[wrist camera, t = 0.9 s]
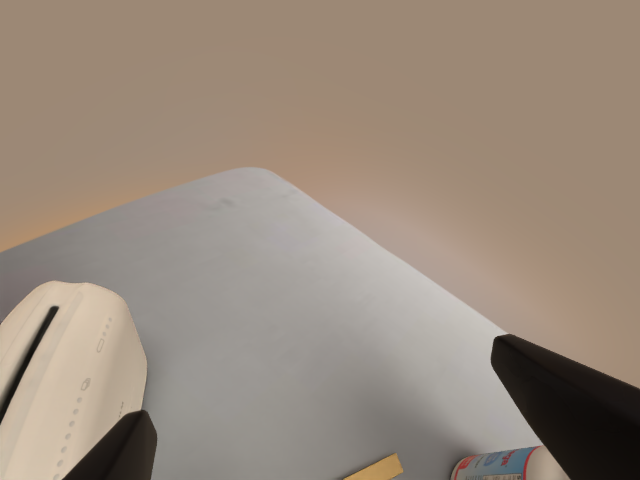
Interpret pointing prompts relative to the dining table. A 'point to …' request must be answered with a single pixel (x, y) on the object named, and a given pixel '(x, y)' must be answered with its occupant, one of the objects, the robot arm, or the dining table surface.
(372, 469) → the tape outline
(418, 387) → the dining table surface
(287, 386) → the dining table surface
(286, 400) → the dining table surface
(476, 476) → the pill bottle
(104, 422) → the photo printer
